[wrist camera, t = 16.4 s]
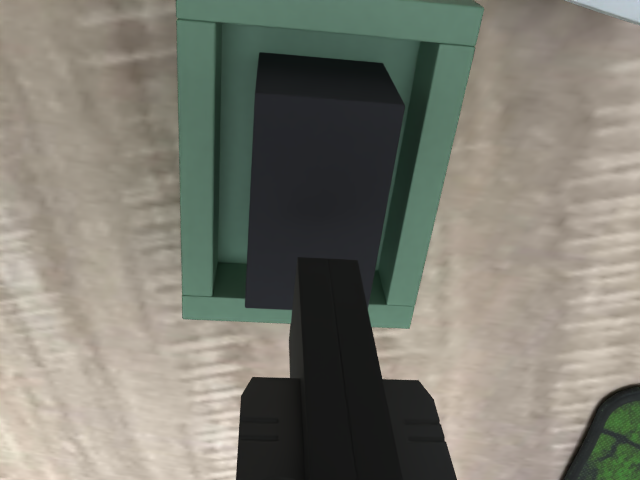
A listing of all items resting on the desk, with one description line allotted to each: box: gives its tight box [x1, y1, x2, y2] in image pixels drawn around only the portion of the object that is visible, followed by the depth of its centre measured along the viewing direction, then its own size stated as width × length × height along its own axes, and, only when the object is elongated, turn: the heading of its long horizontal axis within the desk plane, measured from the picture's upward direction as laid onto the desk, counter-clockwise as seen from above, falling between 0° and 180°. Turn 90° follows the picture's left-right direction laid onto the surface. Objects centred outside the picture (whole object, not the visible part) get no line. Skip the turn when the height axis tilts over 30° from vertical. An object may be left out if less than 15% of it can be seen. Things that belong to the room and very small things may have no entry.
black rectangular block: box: [245, 52, 405, 310], centre depth 22 cm, size 8×4×4 cm, turn 174°
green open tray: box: [176, 0, 484, 329], centre depth 23 cm, size 13×9×3 cm
